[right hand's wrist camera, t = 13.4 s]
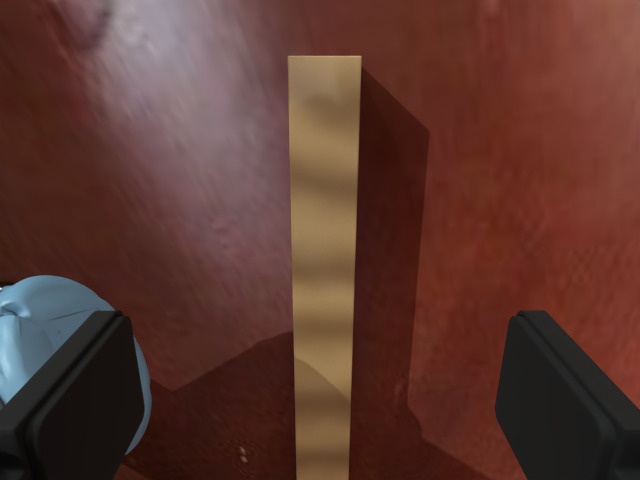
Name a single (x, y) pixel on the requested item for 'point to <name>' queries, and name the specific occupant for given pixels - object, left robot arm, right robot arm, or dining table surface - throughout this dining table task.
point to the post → (323, 255)
